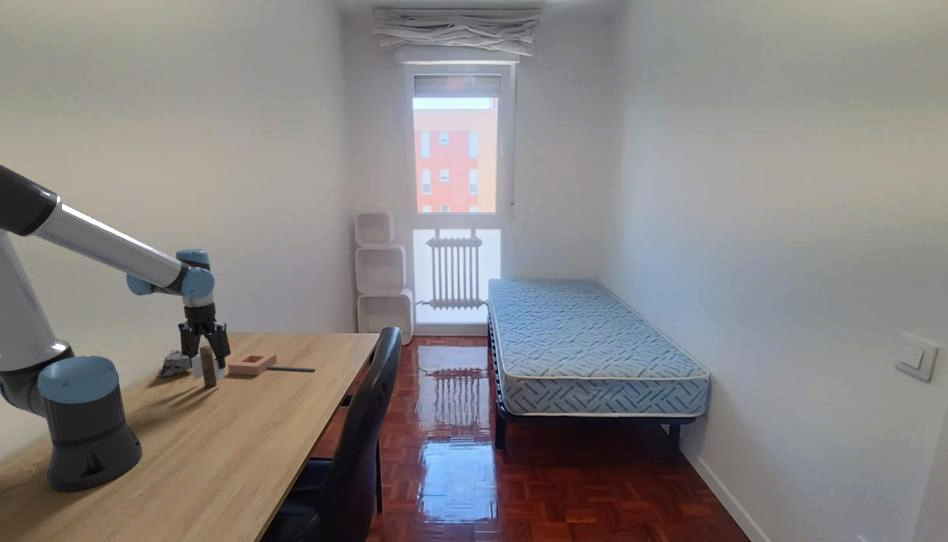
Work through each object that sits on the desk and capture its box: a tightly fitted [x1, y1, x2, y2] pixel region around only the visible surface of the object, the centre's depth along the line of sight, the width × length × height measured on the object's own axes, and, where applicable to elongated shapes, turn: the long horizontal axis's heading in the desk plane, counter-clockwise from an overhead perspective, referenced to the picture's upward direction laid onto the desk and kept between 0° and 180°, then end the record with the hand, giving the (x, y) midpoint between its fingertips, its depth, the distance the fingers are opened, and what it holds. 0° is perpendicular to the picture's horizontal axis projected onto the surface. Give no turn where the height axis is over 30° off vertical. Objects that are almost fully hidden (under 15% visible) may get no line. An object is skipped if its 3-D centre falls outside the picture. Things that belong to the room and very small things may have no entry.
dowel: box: [199, 345, 218, 389], centre depth 126 cm, size 3×3×12 cm
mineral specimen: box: [157, 349, 192, 378], centre depth 136 cm, size 10×8×10 cm
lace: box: [267, 365, 316, 373], centre depth 138 cm, size 1×16×1 cm, turn 83°
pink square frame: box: [227, 351, 278, 376], centre depth 139 cm, size 10×10×3 cm
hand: (209, 377), depth 127 cm, fingers open, 6 cm apart
